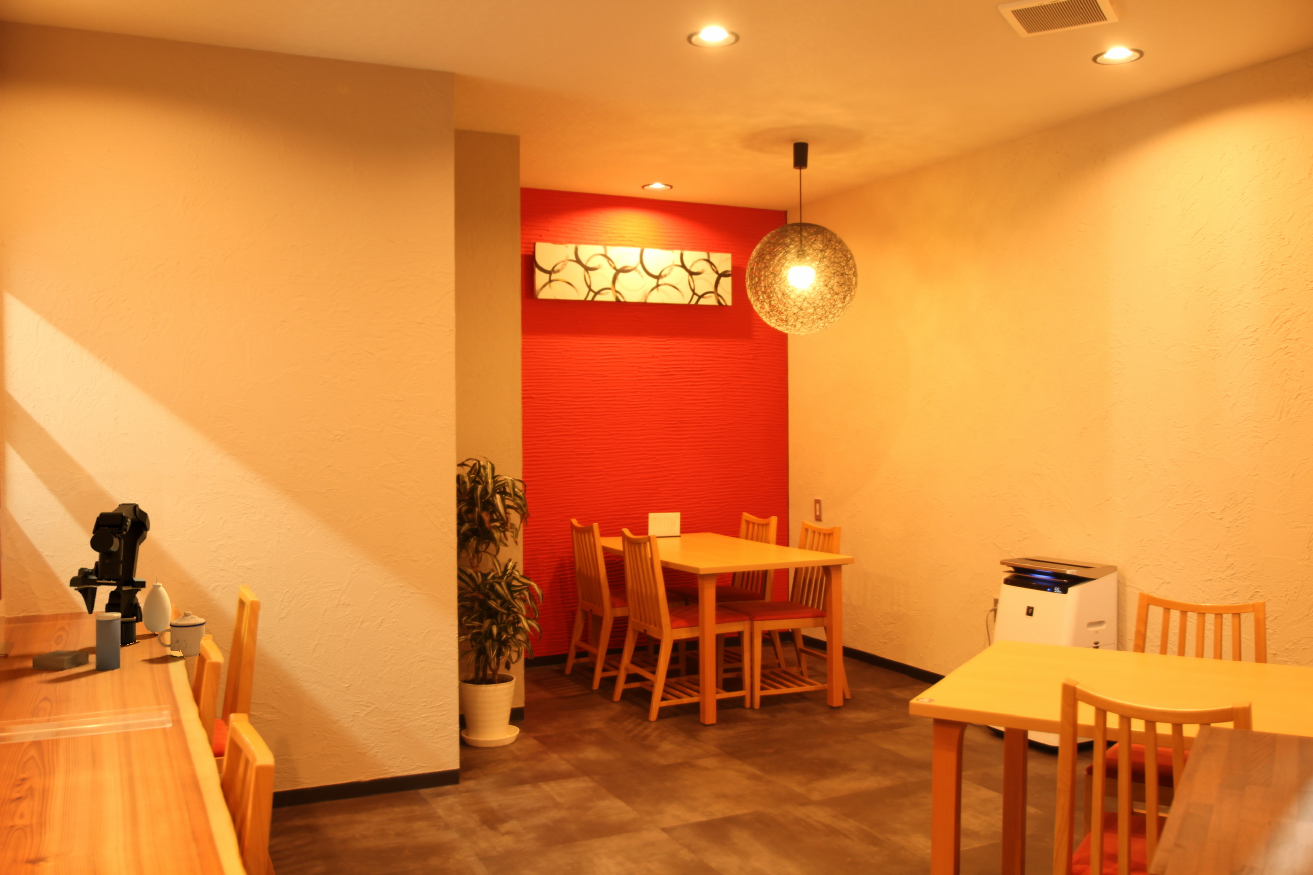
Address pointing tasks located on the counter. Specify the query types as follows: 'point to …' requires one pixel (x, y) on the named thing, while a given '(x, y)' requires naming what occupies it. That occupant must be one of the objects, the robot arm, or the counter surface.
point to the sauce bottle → (156, 609)
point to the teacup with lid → (185, 634)
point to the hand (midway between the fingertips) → (106, 614)
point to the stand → (60, 660)
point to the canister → (108, 641)
